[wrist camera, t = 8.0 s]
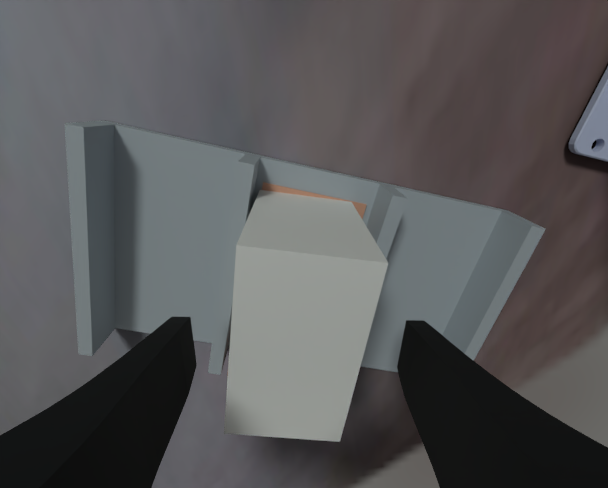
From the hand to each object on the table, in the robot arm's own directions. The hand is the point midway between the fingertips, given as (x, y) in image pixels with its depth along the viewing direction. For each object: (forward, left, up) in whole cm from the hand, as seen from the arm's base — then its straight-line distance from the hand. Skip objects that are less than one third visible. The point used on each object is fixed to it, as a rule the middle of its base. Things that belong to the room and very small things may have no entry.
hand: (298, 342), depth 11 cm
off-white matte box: (0, 0, -5) cm, 5 cm away
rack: (0, 0, -6) cm, 6 cm away
